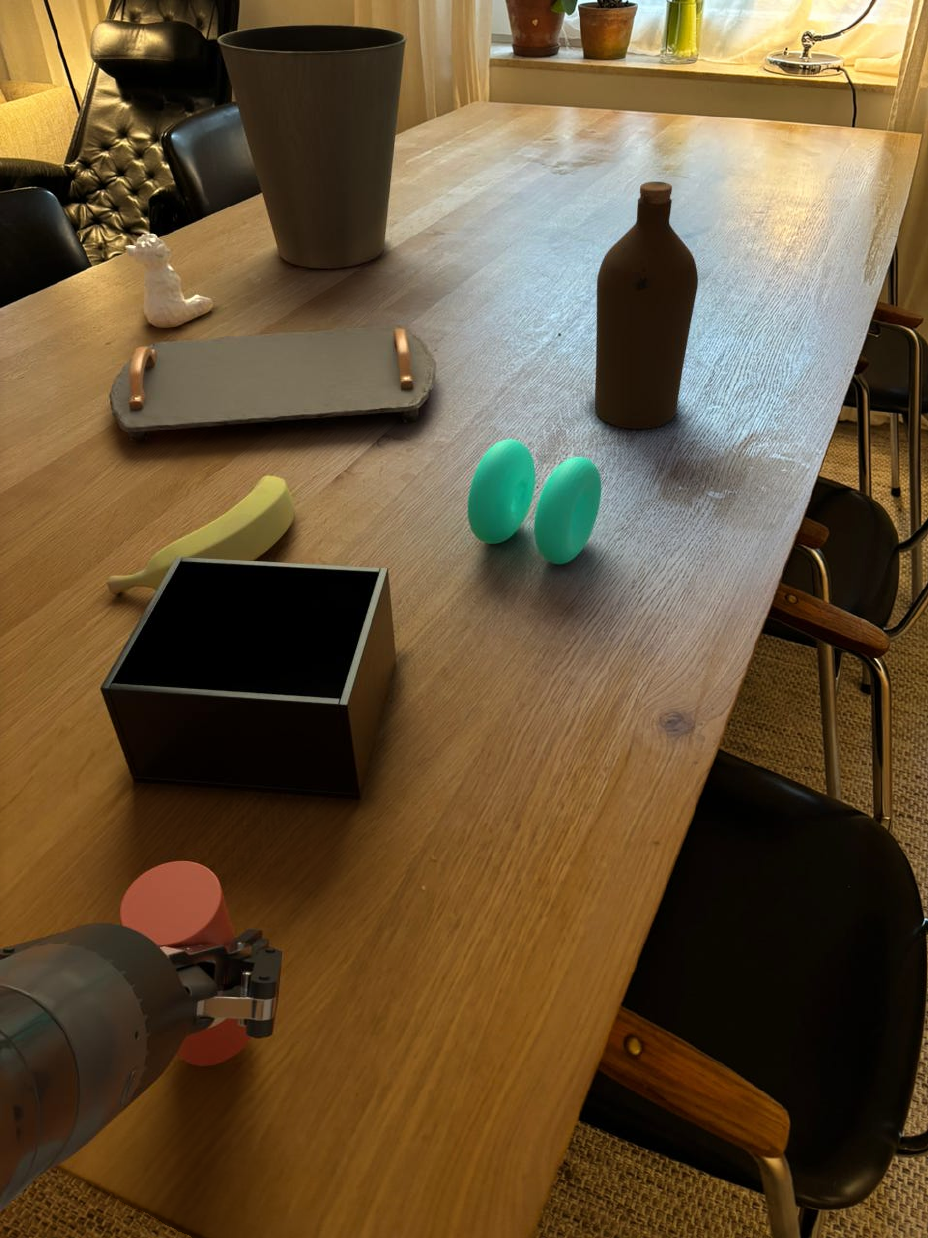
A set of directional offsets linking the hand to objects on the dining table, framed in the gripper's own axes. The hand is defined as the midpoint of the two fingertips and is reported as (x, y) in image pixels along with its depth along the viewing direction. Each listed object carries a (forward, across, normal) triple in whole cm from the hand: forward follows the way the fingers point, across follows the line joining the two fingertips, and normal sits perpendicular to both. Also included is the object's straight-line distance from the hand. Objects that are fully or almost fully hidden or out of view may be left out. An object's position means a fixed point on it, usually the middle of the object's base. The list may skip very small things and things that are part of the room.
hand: (205, 943), depth 55 cm
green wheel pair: (+40, -15, -30) cm, 52 cm away
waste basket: (+95, +22, -85) cm, 129 cm away
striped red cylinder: (+2, 0, +5) cm, 6 cm away
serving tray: (+60, +18, -50) cm, 80 cm away
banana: (+37, +16, -27) cm, 48 cm away
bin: (+22, +4, -12) cm, 25 cm away
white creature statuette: (+75, +39, -65) cm, 107 cm away
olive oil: (+60, -25, -50) cm, 82 cm away
